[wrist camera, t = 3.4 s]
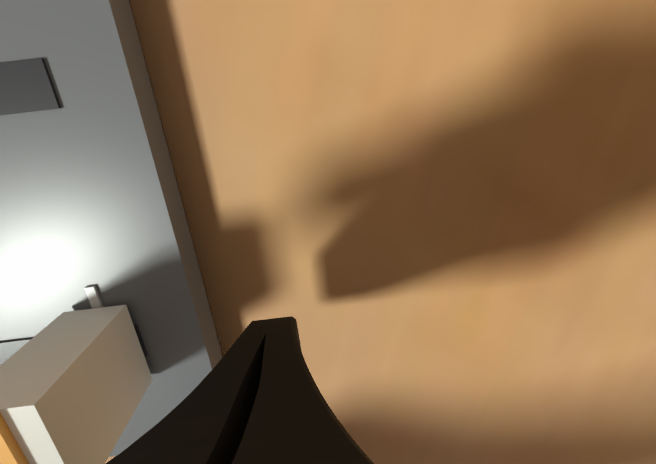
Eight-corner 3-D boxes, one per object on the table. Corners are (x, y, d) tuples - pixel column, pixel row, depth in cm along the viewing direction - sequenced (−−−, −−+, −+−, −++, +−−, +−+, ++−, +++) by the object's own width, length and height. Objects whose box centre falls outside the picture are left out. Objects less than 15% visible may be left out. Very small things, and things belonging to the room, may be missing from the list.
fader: (152, 379, 12) (78, 509, 8) (95, 386, 12) (-7, 520, 8) (126, 304, 11) (27, 412, 7) (63, 312, 11) (-70, 424, 7)
